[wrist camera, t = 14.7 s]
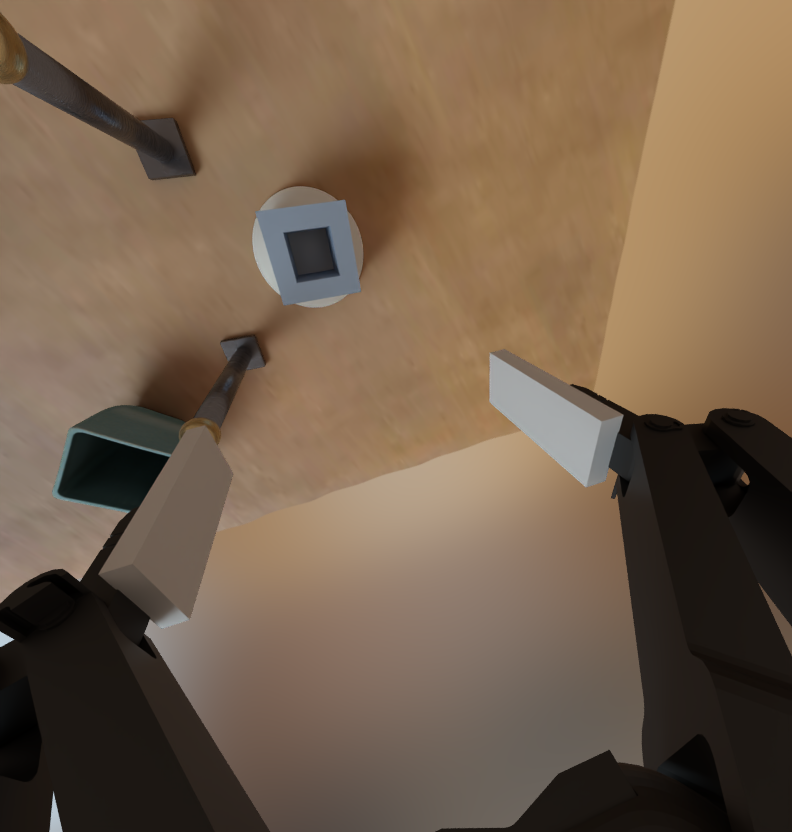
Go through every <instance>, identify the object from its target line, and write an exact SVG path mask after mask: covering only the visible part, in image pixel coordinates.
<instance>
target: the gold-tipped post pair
mask: <svg viewBox="0 0 792 832" xmlns="http://www.w3.org/2000/svg"><path fill="white" fill-rule="evenodd" d="M0 83H1V84H13V85H15V86H17V87H19V88H21V89H23V90H25V91H26V92H28V93H30V94H32V95H34V96H36V97H38V98H40V99H42V100H44V101H45V102H47V103H49V104H51V105H53V106H55V107H57V108H59V109H61V110H63V111H64V112H66V113H68V114H70V115H72V116H74V117H76V118H78V119H80V120H81V121H83V122H85V123H87V124H89V125H91V126H93V127H95V128H97V129H99V130H100V131H102V132H104V133H106V134H108V135H110V136H112V137H114V138H116V139H117V140H119V141H121V142H123V143H125V144H127V145H129V146H131V147H133V148H135V149H136V151H137V153H138V155H139V157H140V160H141V162H142V164H143V167H144V169H145V171H146V174H147V176H148V178H149V179H151V180H159V179H168V178H177V177H186V176H195V175H196V173H195V170H194V168H193V165H192V162H191V160H190V157H189V154H188V151H187V149H186V146H185V143H184V141H183V138H182V135H181V132H180V130H179V127H178V124H177V122H176V120H175V119H173V118H166V119H154V120H142V121H140V120H138V119H137V118H136V117H134V116H133V115H131V114H130V113H129V112H127V111H126V110H124V109H123V108H122V107H120V106H119V105H117V104H116V103H115V102H113V101H112V100H110V99H109V98H108V97H106V96H105V95H103V94H102V93H101V92H99V91H98V90H96V89H95V88H94V87H92V86H91V85H89V84H88V83H87V82H85V81H84V80H82V79H81V78H80V77H78V76H77V75H75V74H74V73H73V72H71V71H70V70H68V69H67V68H66V67H64V66H63V65H61V64H60V63H59V62H57V61H56V60H54V59H53V58H52V57H50V56H49V55H47V54H46V53H45V52H43V51H42V50H40V49H39V48H38V47H36V46H35V45H33V44H32V43H31V42H29V41H28V40H26V39H25V38H24V37H22V36H21V35H19V34H18V33H17V32H16V31H15V29H14V28H13V26H12V25H11V24H10V23H9V21H8V20H7V19H6V18H5V17H4V16H3V15H2V14H1V13H0ZM220 344H221V346H222V348H223V351H224V353H225V355H226V358H227V360H228V363H227V365H226V366H225V368H224V370H223V371H222V373H221V374H220V376H219V378H218V379H217V381H216V382H215V384H214V386H213V387H212V389H211V390H210V392H209V394H208V395H207V397H206V398H205V400H204V402H203V403H202V405H201V406H200V408H199V410H198V411H197V413H196V414H195V416H194V418H193V419H191V420H189V421H187V422H186V423H184V424H183V426H182V427H181V429H180V431H179V441H180V440H181V438H182V437H183V435H184V433H185V432H186V430H188V429H192V428H196V427H200V426H204V425H206V427H207V429H208V430H209V432H210V434H211V435H212V437H213V439H214V441H215V442H216V444H217V445H218V444H219V442H220V439H221V431H220V428H221V425H222V423H223V421H224V419H225V416H226V414H227V412H228V410H229V408H230V405H231V403H232V401H233V399H234V396H235V394H236V392H237V390H238V388H239V385H240V383H241V381H242V379H243V376H244V374H245V372H246V370H250V369H255V368H260V367H265V365H266V363H265V360H264V358H263V355H262V352H261V350H260V347H259V344H258V341H257V339H256V336H255V335H249V336H244V337H239V338H234V339H228V340H223V341H221V342H220Z"/></svg>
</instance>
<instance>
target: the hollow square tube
mask: <svg viewBox="0 0 792 832" xmlns="http://www.w3.org/2000/svg"><path fill="white" fill-rule="evenodd" d="M256 216H257V219H258V222H259V225H260V229H261V232H262V235H263V239H264V242H265V245H266V248H267V252H268V255H269V258H270V262H271V265H272V268H273V272H274V275H275V278H276V281H277V285H278V288H279V291H280V295H281V298H282V301H283V304H284V305H290V304H295V303H301V302H307V301H312V300H318V299H323V298H329V297H335V296H340V295H346V294H352V293H357V292H361V288H360V282H359V276H358V271H357V265H356V259H355V253H354V248H353V242H352V236H351V230H350V225H349V219H348V213H347V207H346V202H345V200H339V201H332V202H324V203H317V204H309V205H301V206H294V207H286V208H279V209H271V210H263V211H256ZM324 228H325V229H326V234H327V238H328V243H329V248H330V253H331V257H332V262H333V267H334V269H333V270H327V271H321V272H315V273H308V274H302V275H298V272H297V268H296V264H295V261H294V257H293V253H292V249H291V246H290V242H289V238H288V235H287V234H289V233H296V232H303V231H310V230H317V229H324Z"/></svg>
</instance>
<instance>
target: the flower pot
mask: <svg viewBox="0 0 792 832" xmlns="http://www.w3.org/2000/svg"><path fill="white" fill-rule="evenodd" d="M184 423H185V422H184V421H182V420H179V419H176V418H173V417H170V416H167V415H164V414H161V413H158V412H155V411H152V410H149V409H146V408H143V407H139V406H130V405H121V406H114V407H111V408H107V409H105V410H103V411H100V412H99V413H97V414H95V415H93V416H91V417H89V418H87V419H86V420H84V421H82V422H80V423H78V424H76V425H75V426H73V427H71V428H70V429H69V430H68V434H67V439H66V442H65V446H64V451H63V455H62V459H61V462H60V467H59V471H58V474H57V478H56V481H55V485H54V487H53V490H52V494H53V497H55V498H56V499H61V500H64V501H70V502H76V503H81V504H86V505H91V506H96V507H102V508H106V509H111V510H116V511H121V512H126V513H129V512H130V511H131V510H132V509H133V508H136V507H140V505H141V503H142V502H143V500H144V499H145V497H146V495H147V494H148V492H149V490H150V489H151V487H152V486H153V484H154V482H155V481H156V479H157V477H158V476H159V474H160V472H161V471H162V469H163V468H164V466H165V464H166V463H167V461H168V459H169V458H170V456H171V454H172V453H173V451H174V450H175V448H176V446H177V445H178V443H179V431H180V429H181V427H182V426H183V424H184Z"/></svg>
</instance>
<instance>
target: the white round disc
mask: <svg viewBox="0 0 792 832" xmlns="http://www.w3.org/2000/svg"><path fill="white" fill-rule="evenodd" d="M332 201H338V200H337V199H335V198H334V197H333V196H331V195H329V194H328V193H326V192H324V191H321V190H319V189H316V188H312V187H305V186H295V187H290V188H286V189H284V190H281V191H279V192H277V193H276V194H274V195H273V196H272V197H270V198H269V199H268V200H267V201H266V202H265V204H264V205H263V206H262V208H261V209H260V211H263V210H271V209H279V208H286V207H294V206H301V205H309V204H317V203H324V202H332ZM347 213H348V219H349V225H350V230H351V236H352V242H353V248H354V253H355V259H356V265H357V271H358V276H360V274H361V270H362V266H363V243H362V239H361V235H360V232H359V229H358V227H357V225H356V222H355V221H354V219H353V217H352V216H351V214H350V213H349V212H348V210H347ZM287 235H288V238H289V242H290V246H291V249H292V253H293V257H294V261H295V264H296V268H297V272H298V275H302V274H308V273H315V272H321V271H327V270H333V269H334V267H333V262H332V257H331V253H330V248H329V243H328V238H327V234H326V229H325V228H324V229H317V230H310V231H303V232H296V233H289V234H287ZM252 239H253V251H254V255H255V259H256V262H257V265H258V267H259V269H260V271H261V273H262V275H263V277H264V278H265V280H266V281H267V283H268V284H269V285H270V286H271V287H272V288H273V289H274V290H275V291H276V292H277V293H278V294H279V295H280V291H279V288H278V285H277V281H276V278H275V275H274V272H273V268H272V265H271V262H270V258H269V255H268V252H267V248H266V245H265V242H264V239H263V235H262V232H261V229H260V225H259V222H258V219H257V217H256V220H255V224H254V227H253V236H252ZM347 295H348V294H346V295H340V296H335V297H329V298H323V299H318V300H312V301H307V302H301V303H295V304H297V305H301V306H305V307H314V308H318V307H325V306H329V305H332V304H334V303H337V302H338V301H340V300H342V299H343V298H344V297H345V296H347Z"/></svg>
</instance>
